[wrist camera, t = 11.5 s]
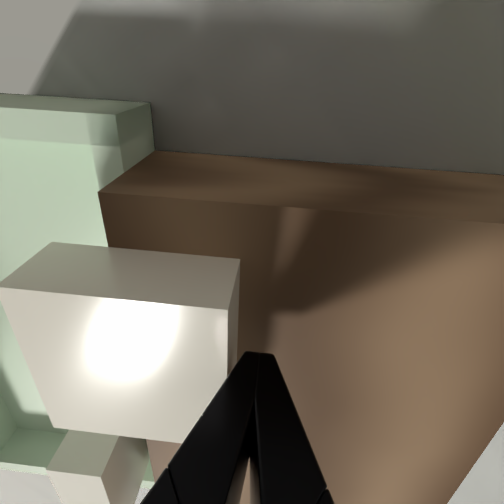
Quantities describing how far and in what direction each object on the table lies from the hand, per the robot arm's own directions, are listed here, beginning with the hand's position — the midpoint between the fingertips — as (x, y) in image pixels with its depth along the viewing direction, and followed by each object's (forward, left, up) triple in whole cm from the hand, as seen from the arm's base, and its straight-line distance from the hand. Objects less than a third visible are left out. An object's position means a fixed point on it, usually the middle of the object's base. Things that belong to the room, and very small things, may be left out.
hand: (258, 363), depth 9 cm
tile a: (+5, +9, -2) cm, 10 cm away
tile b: (+3, 0, -1) cm, 3 cm away
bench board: (-2, +4, -5) cm, 7 cm away
